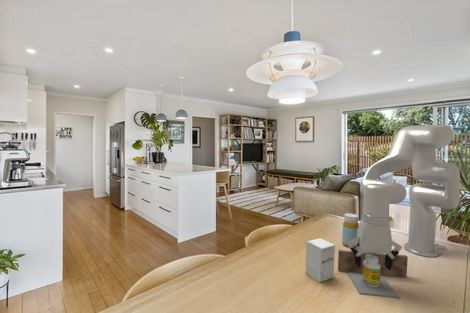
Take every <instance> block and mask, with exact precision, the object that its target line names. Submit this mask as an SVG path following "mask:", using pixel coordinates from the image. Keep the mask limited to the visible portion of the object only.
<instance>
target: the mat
mask: <svg viewBox="0 0 470 313" xmlns="http://www.w3.org/2000/svg"><path fill="white" fill-rule="evenodd" d="M347 275H348V277H349V279H350V280H351V282H352V284H353V286H354V287H355V288H356V291H357V293H358V294H359V295H365V296H374V297H375V296H376V297H384V298H385V297H386V298H396V299H400V296H399V295H398V293H397V292H396V290H394V289H393V286H392V287H391V285H390V284H389V282H388V281H387V280H386V279H385V278H384V275H380V285H379V287H370V286H368V285H366V284H365V283H364V282H363V273H353V272H347Z"/></svg>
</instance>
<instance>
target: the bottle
mask: <svg viewBox="0 0 470 313" xmlns="http://www.w3.org/2000/svg"><path fill="white" fill-rule="evenodd" d="M343 215H344V219H343V223H342V238H341V239H342V240H341V241H342V245H343V246H345V247H347V248H349V246H348V244H347V241H350V240H352V239H355V238H357V231H358V226H359V215H358V214H355V213H350V212H349V213H348V212H346V213H344V214H343ZM353 247H354V248H355V249H356V248H357V247H358V246H357V245H356V244H354V245H353Z"/></svg>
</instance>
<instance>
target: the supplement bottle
mask: <svg viewBox="0 0 470 313" xmlns="http://www.w3.org/2000/svg"><path fill="white" fill-rule="evenodd" d="M365 259H366V260H365V261H364V262H363V273H362V274H363V282H364V283H365V284H366V285H368V286H370V287H379V285H380V276H381V275H380V270H381V266H380V264H379V263H378V262H379V258H378V257H377V256H375V255H371V254H367V255H366V256H365Z"/></svg>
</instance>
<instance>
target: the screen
mask: <svg viewBox="0 0 470 313" xmlns="http://www.w3.org/2000/svg"><path fill="white" fill-rule="evenodd" d="M337 251H338V252H337V253H338V254H337V255H338V256H337V271H338V272H343V273H357V274H363V262H364V261H365V260H366V259H365V256H366V255H367V254H371V255H375V256H377V257H378V258H379V262H378V263H379V264H380V266H381V270H380V276H383V277H384V276H386V277H397V278H407V276H408V275H407V274H408V273H407V272H408V260H409V259H408V258H409V257H408V255H405V254H398V255H396V256H395V258H394V259H393V263H392V267H391V270H388V269H387V268H386V266H385V256H386V255H387V254H386V253H372V252H363V253H362V254H361V255H360V256H361V267H360V268H358V266H357V265H356V264H355V261H354V260H355V254H354V253H353V252H352V251H351V250H346V249H338V250H337Z"/></svg>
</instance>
